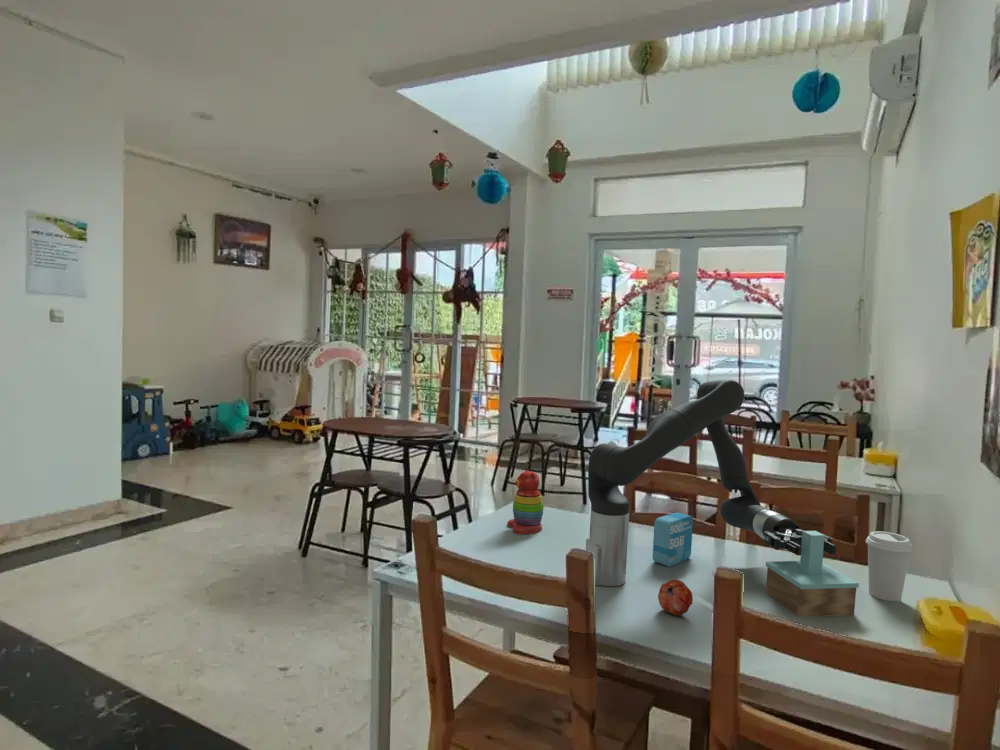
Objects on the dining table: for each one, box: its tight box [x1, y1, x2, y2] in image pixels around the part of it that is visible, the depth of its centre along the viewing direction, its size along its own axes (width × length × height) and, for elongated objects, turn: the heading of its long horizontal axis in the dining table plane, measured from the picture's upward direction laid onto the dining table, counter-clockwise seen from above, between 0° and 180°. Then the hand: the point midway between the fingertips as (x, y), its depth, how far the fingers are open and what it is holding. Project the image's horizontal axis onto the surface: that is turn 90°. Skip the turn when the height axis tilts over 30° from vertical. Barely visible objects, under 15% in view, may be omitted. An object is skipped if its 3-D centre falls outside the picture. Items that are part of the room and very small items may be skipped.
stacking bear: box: [506, 469, 545, 536], centre depth 193 cm, size 11×10×18 cm
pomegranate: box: [657, 578, 694, 617], centre depth 139 cm, size 7×7×10 cm
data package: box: [652, 512, 694, 567], centre depth 171 cm, size 12×4×12 cm, turn 132°
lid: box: [765, 530, 860, 589], centre depth 144 cm, size 14×14×11 cm
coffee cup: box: [865, 530, 914, 603], centre depth 150 cm, size 10×10×15 cm
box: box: [765, 566, 857, 618], centre depth 144 cm, size 13×13×7 cm
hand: (817, 551), depth 142 cm, fingers open, 8 cm apart
